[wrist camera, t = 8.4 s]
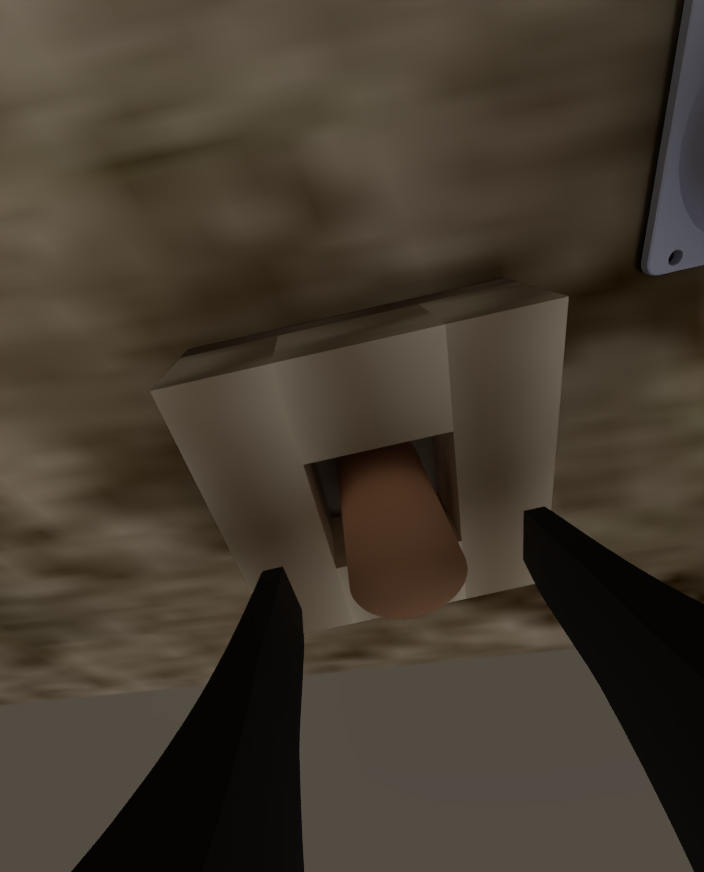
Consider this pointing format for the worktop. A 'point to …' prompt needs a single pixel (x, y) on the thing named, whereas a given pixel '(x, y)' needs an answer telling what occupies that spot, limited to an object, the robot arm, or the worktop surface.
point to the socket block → (376, 430)
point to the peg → (396, 534)
